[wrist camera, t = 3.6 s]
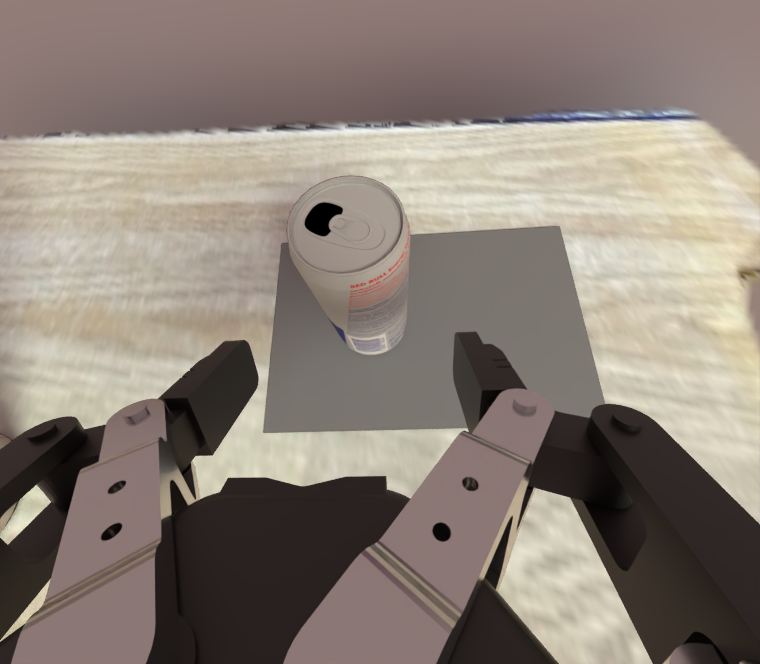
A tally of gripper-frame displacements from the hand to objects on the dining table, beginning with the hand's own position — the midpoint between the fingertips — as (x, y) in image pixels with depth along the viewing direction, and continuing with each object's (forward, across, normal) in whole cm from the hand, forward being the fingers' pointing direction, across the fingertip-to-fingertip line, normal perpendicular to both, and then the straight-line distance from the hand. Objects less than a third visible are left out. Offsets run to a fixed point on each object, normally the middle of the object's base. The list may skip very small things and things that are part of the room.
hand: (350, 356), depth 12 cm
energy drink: (+12, 0, +4) cm, 12 cm away
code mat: (+12, -4, +4) cm, 13 cm away
